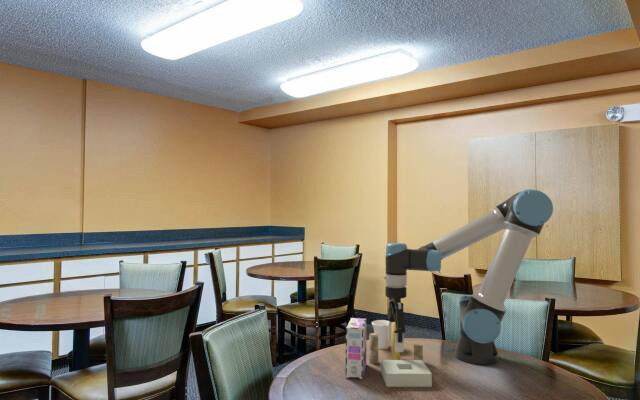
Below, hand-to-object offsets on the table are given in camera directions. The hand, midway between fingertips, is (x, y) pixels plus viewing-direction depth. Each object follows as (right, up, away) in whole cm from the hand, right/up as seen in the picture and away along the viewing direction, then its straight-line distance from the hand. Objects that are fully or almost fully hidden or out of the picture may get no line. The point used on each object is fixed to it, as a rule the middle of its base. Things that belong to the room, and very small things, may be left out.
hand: (395, 345), depth 150 cm
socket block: (0, -6, -15) cm, 16 cm away
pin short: (+8, -6, 0) cm, 10 cm away
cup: (-2, -7, +17) cm, 18 cm away
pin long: (0, -6, 0) cm, 6 cm away
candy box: (-15, -6, -9) cm, 18 cm away
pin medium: (-8, -6, 0) cm, 10 cm away
